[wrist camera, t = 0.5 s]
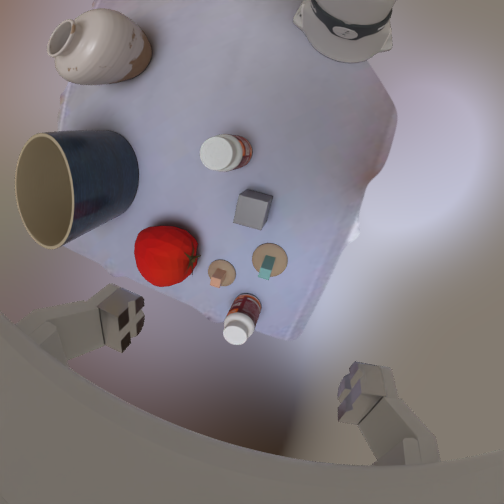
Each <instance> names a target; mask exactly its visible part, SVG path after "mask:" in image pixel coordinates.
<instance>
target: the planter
mask: <svg viewBox="0 0 504 504" xmlns="http://www.w3.org/2000/svg"><path fill="white" fill-rule="evenodd" d="M138 178H139V173H138V164H137V159H136V156H135V153H134V151H133V149H132V147H131V145H130V144H129V143H128V141H127V140H126V139H125V138H124V137H123V136H121V135H120V134H118V133H116V132H113V131H95V130H79V131H58V132H46V133H39V134H36V135H34V136H32V137H31V138H30V139H29V140H28V141H27V142H26V144H25V145H24V147H23V148H22V151H21V153H20V155H19V158H18V162H17V166H16V173H15V194H16V201H17V206H18V210H19V213H20V216H21V219H22V221H23V224H24V226H25V228H26V229H27V231H28V233H29V234H30V236H31V237H32V238H33V239H34V240H35V241H36V242H37V243H38V244H39V245H41V246H42V247H44V248H47V249H56V248H59V247H61V246H63V245H64V244H66V243H68V242H70V241H72V240H74V239H76V238H78V237H79V236H81V235H83V234H85V233H87V232H89V231H91V230H93V229H94V228H96V227H98V226H100V225H102V224H104V223H106V222H108V221H110V220H111V219H113V218H116V217H118V216H119V215H121V214H122V213H124V212H125V211H126V210H127V209H128V208H129V206H130V205H131V203H132V201H133V199H134V197H135V194H136V191H137V187H138Z"/></svg>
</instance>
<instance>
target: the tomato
mask: <svg viewBox="0 0 504 504" xmlns="http://www.w3.org/2000/svg"><path fill="white" fill-rule="evenodd" d="M197 245H198V243H197V241H196V240H195V238H194V237H193V236H192V235H190V234H189V233H188V232H187V231H186V230H183V229H180V228H177V227H175V226H155V227H148V228H146V229H144V230H142V231H141V232H140V233H139V234H138V236H137V239H136V242H135V250H134V254H135V259H136V264H137V268H138V270H139V271H140V273H141V275H142V276H143V277H144V278H145V279H146V280H147V281H149V282H150V283H151V284H153V285H155V286H159V287H164V286H171V285H174V284H177V283H180V282H182V281H183V280H184V279H185V278H187V277H188V276H189V275H190V274H191V273H192V276H193V269H194V268H195V266H196V265H197V258H198V257H200V256H201V255H200V256H196V250H197Z"/></svg>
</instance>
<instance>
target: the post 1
mask: <svg viewBox="0 0 504 504" xmlns="http://www.w3.org/2000/svg"><path fill="white" fill-rule="evenodd" d="M208 274H209V277H210V279H211V282H210V285H211V286H214V287H218V288H220V286H228V285H230V284H232V283H233V281H234V280H235V277H236V272H235V269H234V267H233V266H232V264H230V263H229V262H228V261H225V260H216V261H214V262H212V263H211V265H210V266H209V269H208Z"/></svg>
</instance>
